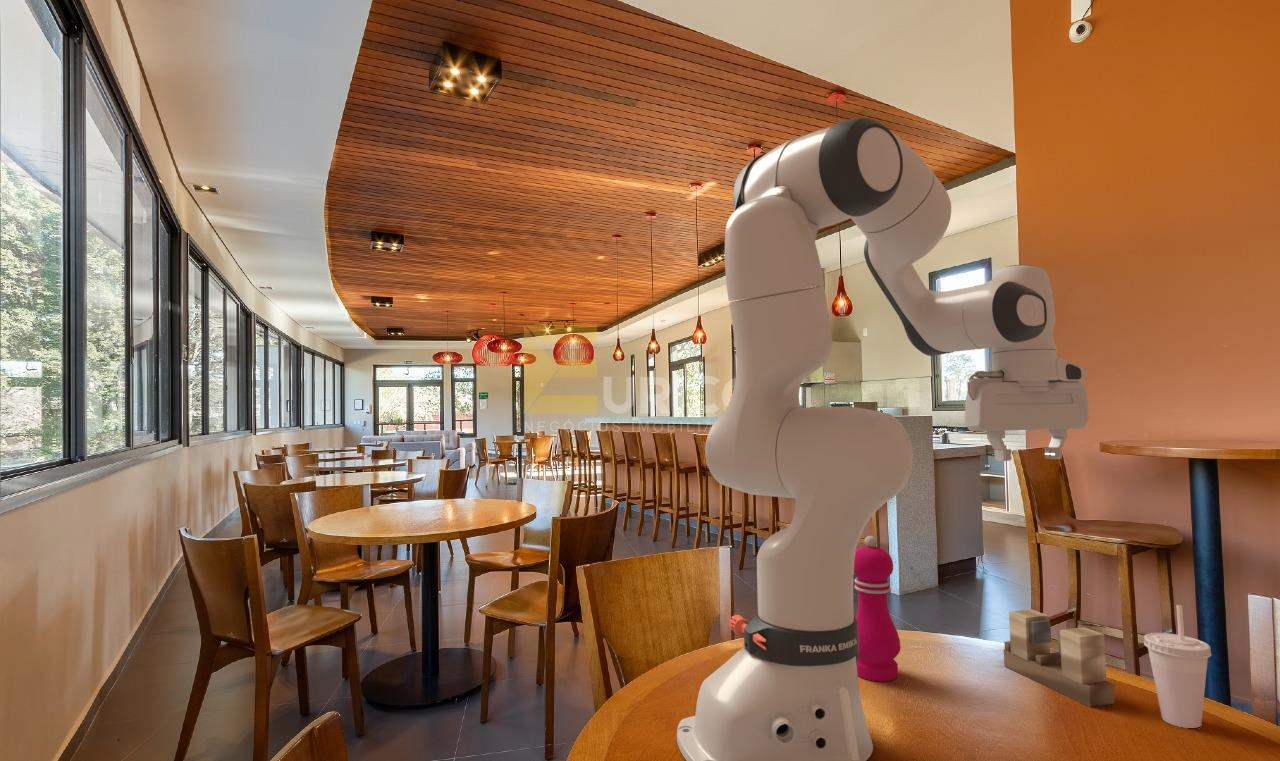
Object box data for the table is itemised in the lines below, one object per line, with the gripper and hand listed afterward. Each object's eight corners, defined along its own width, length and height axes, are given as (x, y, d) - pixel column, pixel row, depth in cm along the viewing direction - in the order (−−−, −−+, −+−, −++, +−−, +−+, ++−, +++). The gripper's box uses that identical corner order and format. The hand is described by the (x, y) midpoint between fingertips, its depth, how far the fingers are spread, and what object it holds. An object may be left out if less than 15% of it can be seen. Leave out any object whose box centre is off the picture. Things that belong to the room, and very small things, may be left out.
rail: (1090, 707, 83) (1086, 639, 83) (1004, 666, 96) (1001, 608, 97) (1114, 703, 84) (1111, 636, 84) (1026, 663, 97) (1023, 606, 98)
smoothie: (1229, 736, 75) (1222, 614, 76) (1167, 731, 76) (1160, 611, 77) (1194, 711, 81) (1187, 599, 82) (1136, 707, 82) (1130, 597, 83)
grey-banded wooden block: (1032, 662, 91) (1030, 619, 92) (1010, 652, 95) (1008, 611, 95) (1055, 659, 92) (1052, 617, 93) (1033, 650, 96) (1031, 609, 96)
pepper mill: (893, 687, 89) (888, 542, 90) (842, 675, 94) (838, 537, 95) (907, 670, 95) (902, 534, 96) (858, 660, 99) (854, 530, 101)
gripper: (983, 369, 94) (987, 463, 94) (1094, 369, 99) (1099, 459, 99) (952, 372, 101) (956, 460, 100) (1059, 372, 105) (1063, 456, 105)
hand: (1028, 459), depth 99 cm, fingers open, 8 cm apart
